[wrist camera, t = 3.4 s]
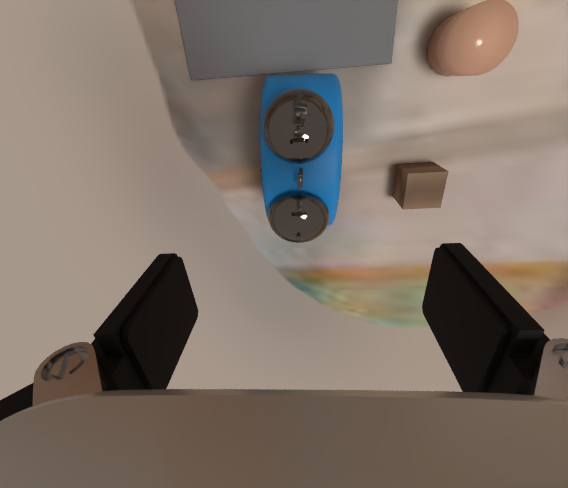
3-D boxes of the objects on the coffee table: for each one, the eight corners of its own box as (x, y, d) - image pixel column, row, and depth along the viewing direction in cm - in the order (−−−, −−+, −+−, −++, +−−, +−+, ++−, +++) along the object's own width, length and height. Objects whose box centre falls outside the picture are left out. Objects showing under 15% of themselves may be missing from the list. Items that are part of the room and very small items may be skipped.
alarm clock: (325, 196, 35) (338, 264, 22) (276, 197, 36) (260, 263, 23) (331, 74, 29) (354, 70, 16) (270, 76, 29) (245, 73, 16)
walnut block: (396, 163, 33) (408, 173, 29) (432, 161, 33) (448, 171, 29) (392, 196, 35) (402, 209, 31) (426, 194, 35) (440, 207, 31)
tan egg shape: (432, 15, 26) (458, 2, 22) (490, 9, 26) (528, -5, 21) (423, 78, 29) (444, 77, 24) (475, 74, 28) (506, 72, 24)
